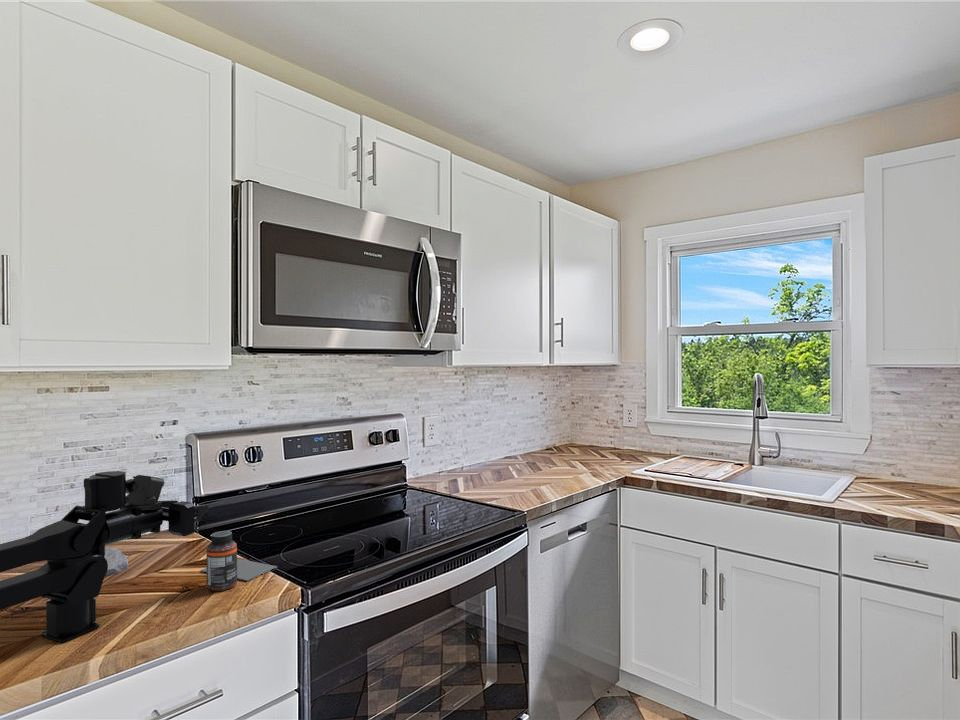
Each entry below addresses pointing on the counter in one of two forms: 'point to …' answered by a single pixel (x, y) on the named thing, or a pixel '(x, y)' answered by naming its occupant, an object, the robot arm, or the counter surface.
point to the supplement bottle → (221, 562)
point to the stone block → (115, 561)
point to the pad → (249, 569)
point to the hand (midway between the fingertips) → (192, 505)
